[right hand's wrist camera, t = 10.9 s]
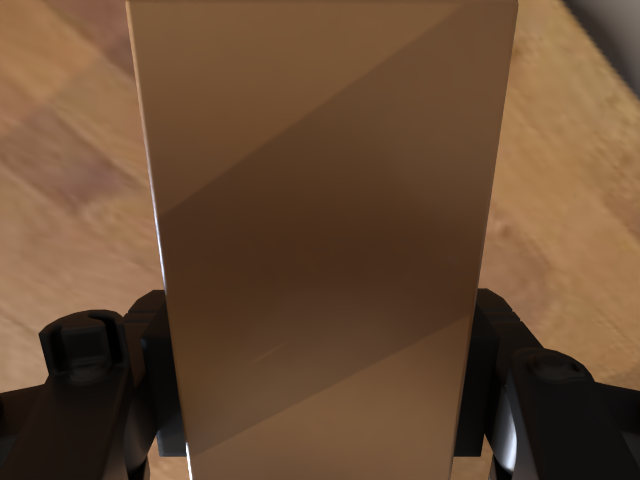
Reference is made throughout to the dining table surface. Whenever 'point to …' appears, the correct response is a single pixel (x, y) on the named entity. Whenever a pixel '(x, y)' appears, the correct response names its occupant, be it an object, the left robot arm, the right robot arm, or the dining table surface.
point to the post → (321, 223)
